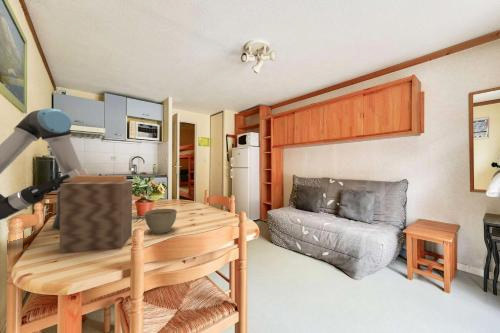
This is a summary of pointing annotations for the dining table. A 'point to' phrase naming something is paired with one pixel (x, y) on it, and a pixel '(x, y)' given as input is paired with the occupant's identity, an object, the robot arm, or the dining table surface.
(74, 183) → the walnut stand
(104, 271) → the dining table surface
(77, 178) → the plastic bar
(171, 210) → the planter bowl
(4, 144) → the robot arm
